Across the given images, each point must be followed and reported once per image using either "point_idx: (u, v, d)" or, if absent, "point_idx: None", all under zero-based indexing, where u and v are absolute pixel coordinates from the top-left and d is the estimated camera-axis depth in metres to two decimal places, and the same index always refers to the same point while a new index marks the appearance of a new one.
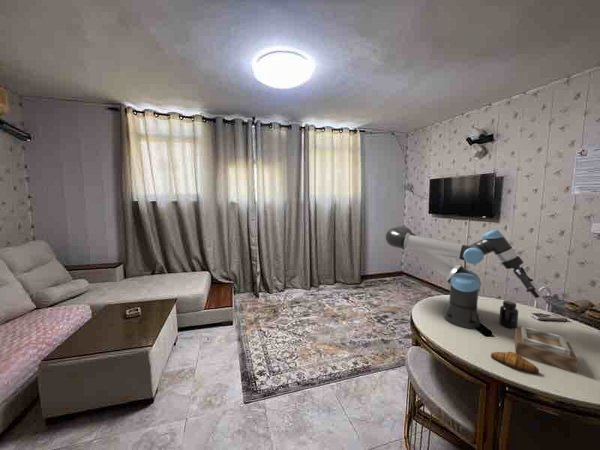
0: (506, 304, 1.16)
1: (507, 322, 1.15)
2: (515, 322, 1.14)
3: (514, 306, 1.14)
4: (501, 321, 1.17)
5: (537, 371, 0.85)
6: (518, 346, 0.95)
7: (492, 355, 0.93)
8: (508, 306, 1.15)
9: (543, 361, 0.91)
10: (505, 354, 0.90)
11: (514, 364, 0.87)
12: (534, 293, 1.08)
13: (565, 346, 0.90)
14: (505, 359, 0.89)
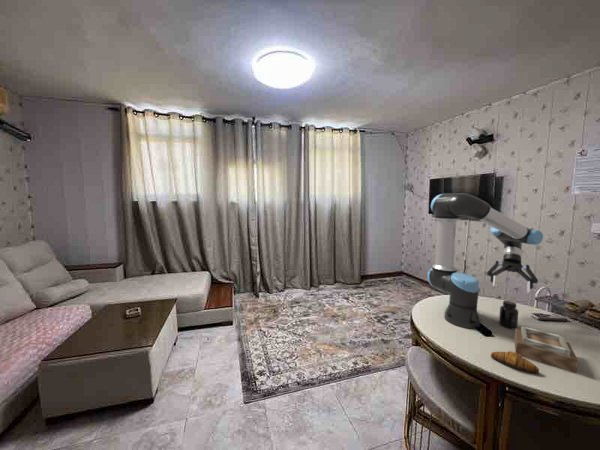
0: (506, 304, 1.16)
1: (507, 322, 1.15)
2: (515, 322, 1.14)
3: (514, 306, 1.14)
4: (501, 321, 1.17)
5: (537, 371, 0.85)
6: (518, 346, 0.95)
7: (492, 354, 0.93)
8: (508, 306, 1.15)
9: (543, 361, 0.91)
10: (505, 354, 0.90)
11: (514, 364, 0.87)
12: (532, 285, 1.21)
13: (565, 346, 0.90)
14: (505, 359, 0.89)
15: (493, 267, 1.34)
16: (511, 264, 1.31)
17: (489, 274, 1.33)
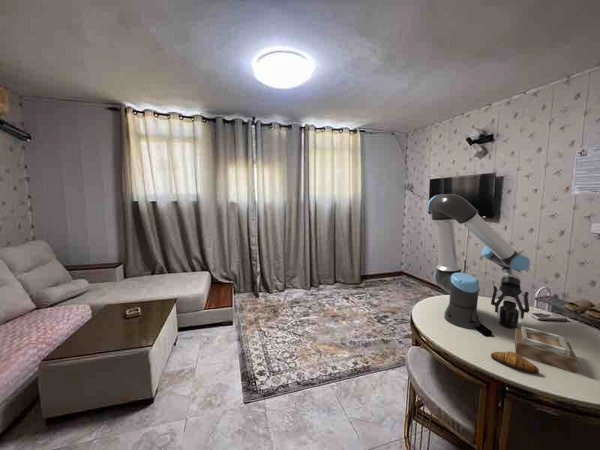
0: (506, 304, 1.16)
1: (507, 322, 1.15)
2: (515, 322, 1.14)
3: (514, 306, 1.14)
4: (501, 321, 1.17)
5: (537, 371, 0.84)
6: (518, 346, 0.95)
7: (492, 355, 0.93)
8: (508, 306, 1.15)
9: (543, 361, 0.91)
10: (505, 354, 0.90)
11: (514, 364, 0.87)
12: (523, 314, 1.14)
13: (565, 346, 0.90)
14: (505, 359, 0.89)
15: (494, 294, 1.23)
16: (509, 287, 1.23)
17: (493, 303, 1.21)
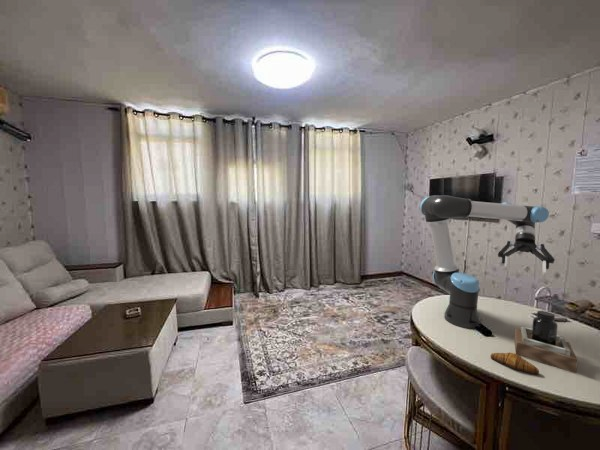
0: (542, 315, 0.94)
1: (543, 338, 0.93)
2: (554, 338, 0.92)
3: (552, 318, 0.92)
4: (535, 337, 0.95)
5: (537, 372, 0.84)
6: (518, 346, 0.95)
7: (491, 356, 0.93)
8: (545, 318, 0.93)
9: (543, 361, 0.91)
10: (505, 355, 0.90)
11: (514, 365, 0.86)
12: (548, 264, 1.12)
13: (565, 346, 0.90)
14: (504, 360, 0.89)
15: (504, 247, 1.24)
16: (524, 244, 1.21)
17: (500, 255, 1.23)
